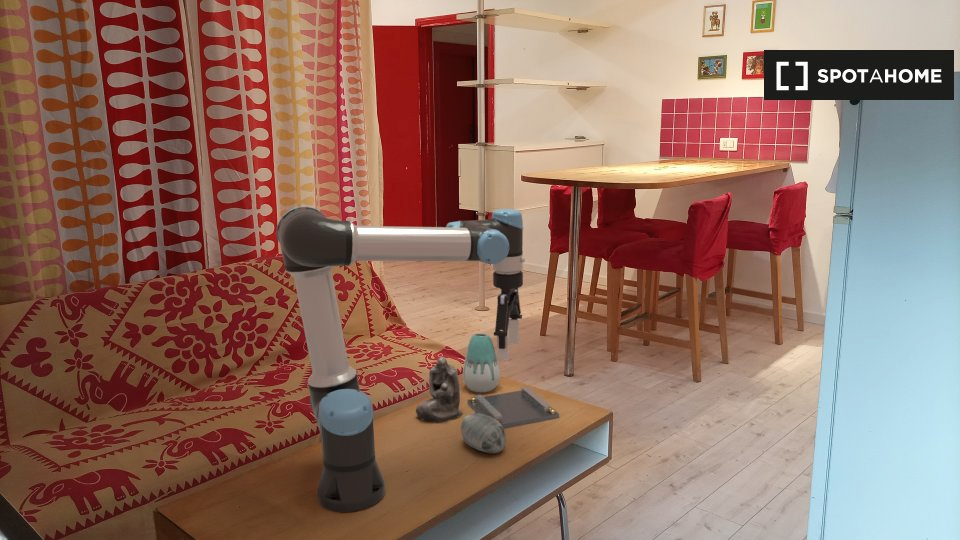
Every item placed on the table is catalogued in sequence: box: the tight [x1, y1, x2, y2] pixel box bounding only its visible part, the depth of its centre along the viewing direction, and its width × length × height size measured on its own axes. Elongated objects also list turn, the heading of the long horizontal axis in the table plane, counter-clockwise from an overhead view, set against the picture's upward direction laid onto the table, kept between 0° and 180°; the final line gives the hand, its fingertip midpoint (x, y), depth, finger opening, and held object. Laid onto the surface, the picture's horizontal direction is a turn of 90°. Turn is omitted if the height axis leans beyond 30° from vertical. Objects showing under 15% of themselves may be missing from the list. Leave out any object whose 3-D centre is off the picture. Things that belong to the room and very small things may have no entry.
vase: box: [462, 332, 501, 394], centre depth 223 cm, size 12×12×18 cm
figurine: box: [415, 356, 463, 423], centre depth 205 cm, size 13×12×18 cm
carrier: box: [467, 386, 560, 429], centre depth 208 cm, size 20×20×3 cm
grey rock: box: [460, 412, 507, 454], centre depth 186 cm, size 14×10×10 cm
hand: (508, 351), depth 186 cm, fingers open, 13 cm apart
